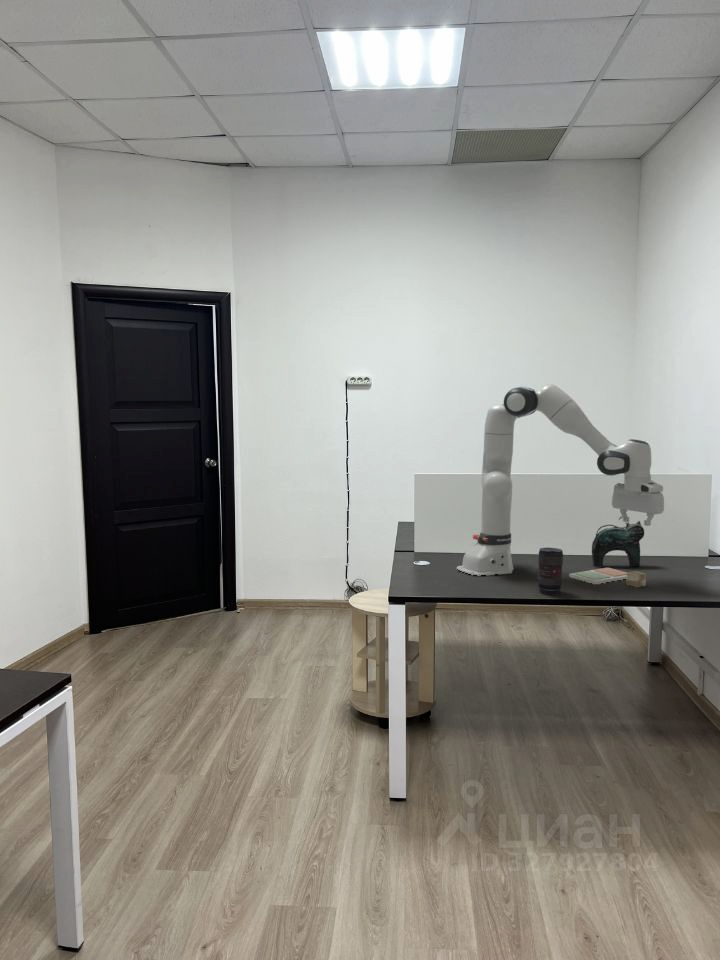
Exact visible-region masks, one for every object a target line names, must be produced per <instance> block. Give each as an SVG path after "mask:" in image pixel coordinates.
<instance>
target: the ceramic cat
mask: <svg viewBox="0 0 720 960" xmlns="http://www.w3.org/2000/svg"><path fill="white" fill-rule="evenodd" d="M621 519H623V517H622V516H620V517H619V518H618V521H620V520H621ZM629 522H630V521H629ZM629 522H624V524H626V525H625V526H623V527H621V526H616V525H613V524H605V525H602V526H600V527H598V529H597V531H596V533H595V536H594V538H593V541H592V544H591V556H592V565H594V566H593V567H595V566H603V567H604V558H605V556H606V555H607V554H608V553H610V552H613V551H621V552H625V554H626V556H627V558H628V565H629V567H631V566H639V567H640V565H641V544H640V541H641V540H642V539H643V538H644V536H645V529H644V527H643V526H642V524H641V521H639V520H637V522H636V523H629ZM605 527H606V528H605ZM608 527H609V528H608ZM602 528H603V529H602ZM601 529H602V530H601Z"/></svg>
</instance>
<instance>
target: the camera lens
mask: <svg viewBox="0 0 720 960" xmlns="http://www.w3.org/2000/svg"><path fill="white" fill-rule="evenodd" d="M563 563H564V553H563V549H561V548H557V547H540V548H539V551H538V575H537V584H538V589H539V592H540V593H541V594H543V593H544V595H551V594H552V595H558V594H560V591H561V588H562V584H563V583H562V582H563V581H562V580H563V579H562V577H563V576H562V575H563Z"/></svg>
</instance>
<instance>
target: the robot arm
mask: <svg viewBox="0 0 720 960" xmlns="http://www.w3.org/2000/svg"><path fill="white" fill-rule="evenodd" d="M537 411H538V412H540V413H541V414H543V415H544V416H545V417H546V418H547V419H548V420H549V421H550V422H551V424H553V425H554V426H555V427H556V428H557V429H559V430H560V431H562V432H564V433H565V434H569V435H572V436H575V437H577V438H579V439H580V440H582V441H583V442H585V444H587V445H588V446H589V448H591V450H593V451H594V452H595V454H596V455H597V456H598V457H597V460H596V466H597V468H598V470H599V471H600V472H601V473H602V474H604V475H606V476H611V477H612V476H617V475H622V474H623V475H624V480H623V482H624V483H620V482H618V483H616V484H615V485H614V487H613V493H612V498H611V506H612V509H613V508H614V509H620V510H619V513H620V515H621V517H622V522H624V523H625V522H626V523H628V522H630V517H629V516H628V514H627V512H628V511H631V512H638V513H645V514H646V517H647V518H646V519H645V520H644V521H643V525H644V526H646V527H648V526H652V520H653V518H654V517H655V515H661V514H663V512H664V510H665V498H664V495H663V492H664V486H663V485H661V484H660V483H657V482H655V481H654V480H652V475H651V466H652V449H651V448H652V447H651V446H650V444H649V443H648V442H646V441H643V440H640V439H632V438H630V439H627V440H626V441H625V442H623V443H621V444H619V445H616V444H613V443H612V442H610V441H609V439H608V438H607V437H605V436H604V435H603V433H601V432H600V431H599V430H598V429H597V428H596V427H595V426H594V425H593V424H592V422H591V421H590V420H589V418H588V416H587V414H585V412H584V411H583V410H582V408H581V407H580V406H579V404H578V403H577V402H576V401H575V400H574V399H573V398H572V397H571V396H569V394H568V393H566V392H565V391H564V390H563V389H561V388H560V387H558V386H557V385H555V384H553V383H549V384H545V385H544V386H542V387H540V388H539V389H538V390H535V389H533V388H531V387H527V386H519V387H514V388H511V389H510V390H509V391H507V392H506V394H505V396H504V398H503V404H502V403H500V404H499V403H498V404H494V405H492V406H490V407H489V408H488V410H487V413H486V417H485V424H484V432H483V433H484V434H483V453H482V468H481V486H482V487H481V488H482V500H481V501H482V502H481V526H480V527H481V529H480V530H481V531H480V533H479V534H477V533H474V534H472V539H473V540H477V543H475V544H474V545H473V546H472V547H471V548H470V549H469V550H468V551H467V552H465V554H464V555H463V558H462V565H458V566H456V570H457V569H458V570H460V571H462V572H465V573H468V574H471V575H470V576H473V575H477V576H476V577H482V576H481V575H486V576H495V574H498V575H508V574H513V571H514V566H513V560H512V552H511V551H512V550H511V543H512V533H511V517H512V516H511V513H512V511H511V510H512V502H513V501H512V499H513V498H512V497H513V480H512V478H511V472H512V463H513V462H512V461H513V454H514V453H513V452H514V436H515V435H514V431H515V422H516V420H517V419H519V418H523V417H527V416H530V415H533V414H534V413H535V412H537ZM458 570H457V571H458ZM462 572H461V573H462ZM465 573H464V574H465ZM468 574H467V575H468Z"/></svg>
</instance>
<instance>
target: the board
mask: <svg viewBox="0 0 720 960" xmlns="http://www.w3.org/2000/svg"><path fill="white" fill-rule="evenodd" d="M627 573H628V572H626V571H623V570H620V569H615V568H611V567H604V568H603V567H602V568H598V569H590V570H585V571H578V572H572V573H569V574H568V576H569V578H572V579H574V578H575V580H578V581H581V580H582V582H584V581H585V583H589V584H591V583H592V584H591V585H595V586H596V584H597V585H602V584H601V583H603V584H607V583H606V582H609V583H612V582H611V581H615V582H618V581H617V580H621V581H624V580H623V579H626V580H627Z"/></svg>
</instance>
